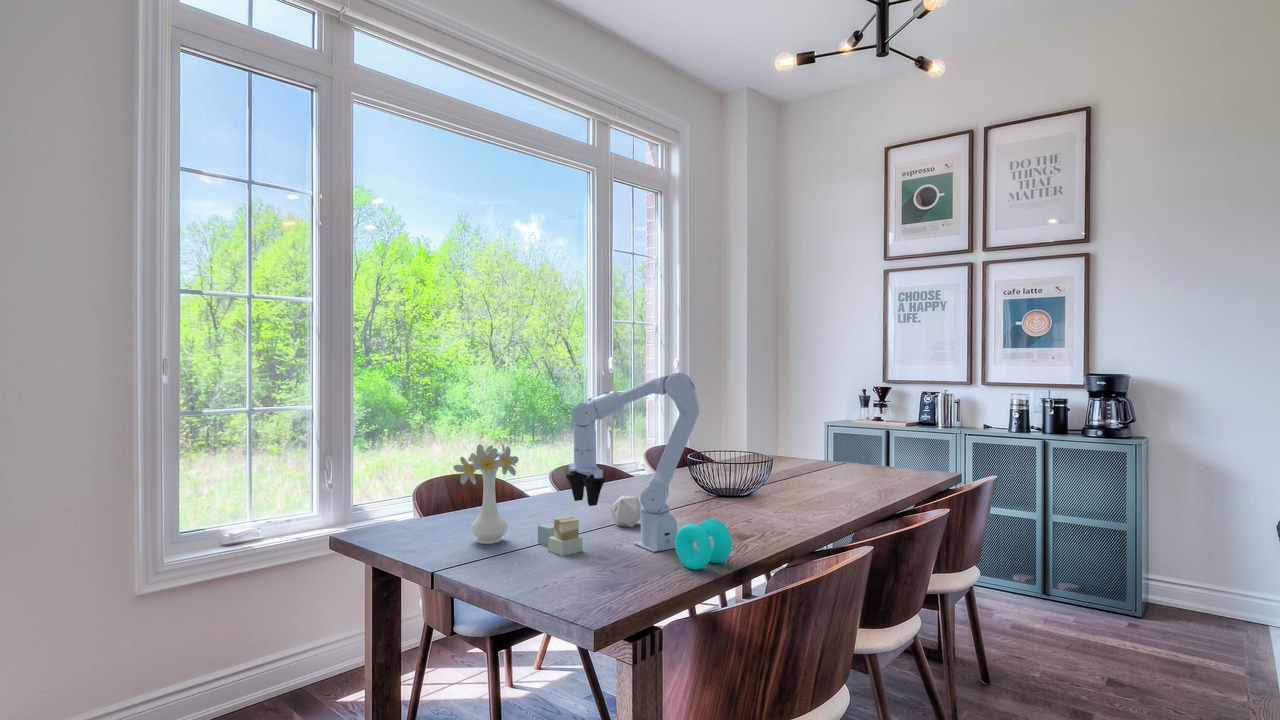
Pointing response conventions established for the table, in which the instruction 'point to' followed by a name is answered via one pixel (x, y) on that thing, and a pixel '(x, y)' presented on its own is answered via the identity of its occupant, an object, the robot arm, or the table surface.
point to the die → (626, 511)
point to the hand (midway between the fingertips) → (585, 502)
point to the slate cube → (545, 533)
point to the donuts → (703, 543)
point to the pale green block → (565, 545)
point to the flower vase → (488, 490)
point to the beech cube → (566, 528)
